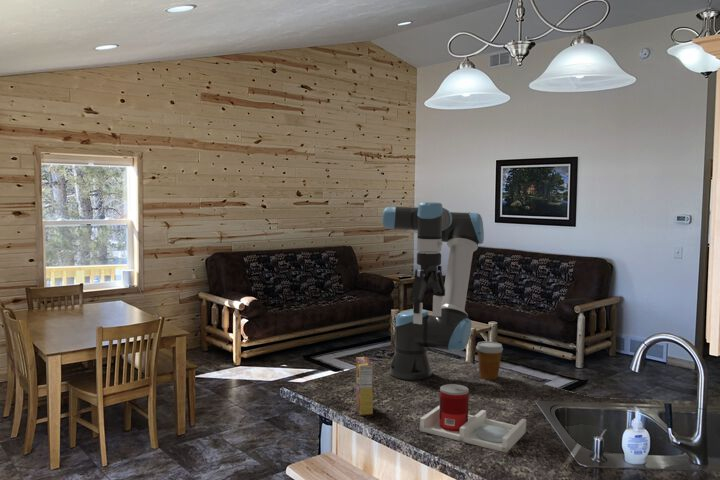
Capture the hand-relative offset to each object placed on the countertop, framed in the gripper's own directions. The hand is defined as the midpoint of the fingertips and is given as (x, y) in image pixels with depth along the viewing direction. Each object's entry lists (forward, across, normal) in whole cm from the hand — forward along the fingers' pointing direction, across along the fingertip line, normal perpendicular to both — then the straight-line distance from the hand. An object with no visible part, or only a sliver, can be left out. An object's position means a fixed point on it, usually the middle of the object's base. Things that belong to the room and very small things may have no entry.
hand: (427, 319), depth 190 cm
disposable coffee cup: (+27, +37, -7) cm, 46 cm away
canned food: (+26, -15, -16) cm, 34 cm away
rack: (+27, -15, -22) cm, 38 cm away
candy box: (+27, -16, +13) cm, 34 cm away
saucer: (+26, -15, -28) cm, 41 cm away
